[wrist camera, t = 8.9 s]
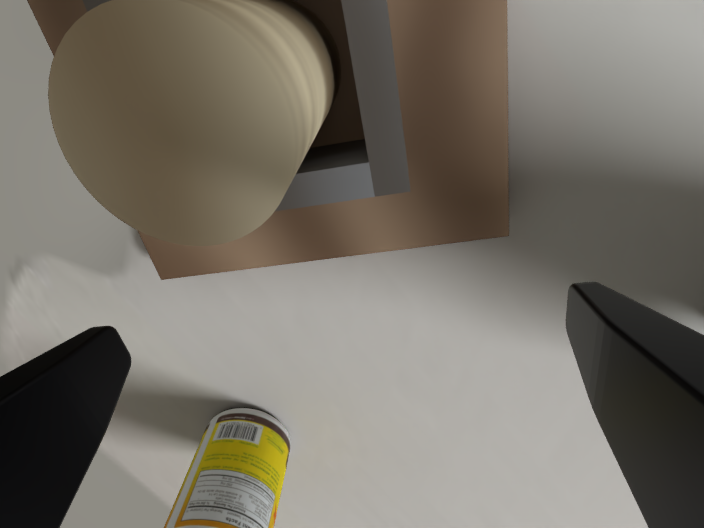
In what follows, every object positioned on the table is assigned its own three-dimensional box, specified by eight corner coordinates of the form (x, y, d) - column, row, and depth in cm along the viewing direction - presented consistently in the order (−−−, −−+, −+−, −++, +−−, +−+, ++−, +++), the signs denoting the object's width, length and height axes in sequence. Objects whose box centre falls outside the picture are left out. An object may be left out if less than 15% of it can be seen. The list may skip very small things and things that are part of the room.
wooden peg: (325, -18, 14) (251, -36, 7) (351, 122, 17) (319, 230, 9) (197, 13, 15) (-3, 28, 7) (239, 142, 17) (118, 258, 10)
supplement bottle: (248, 468, 31) (192, 654, 22) (191, 422, 29) (103, 608, 20) (310, 442, 29) (275, 636, 20) (254, 390, 27) (188, 582, 18)
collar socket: (491, -315, 12) (541, -467, 8) (501, 220, 20) (528, 273, 16) (-15, -154, 14) (-164, -211, 10) (174, 263, 22) (129, 318, 18)
